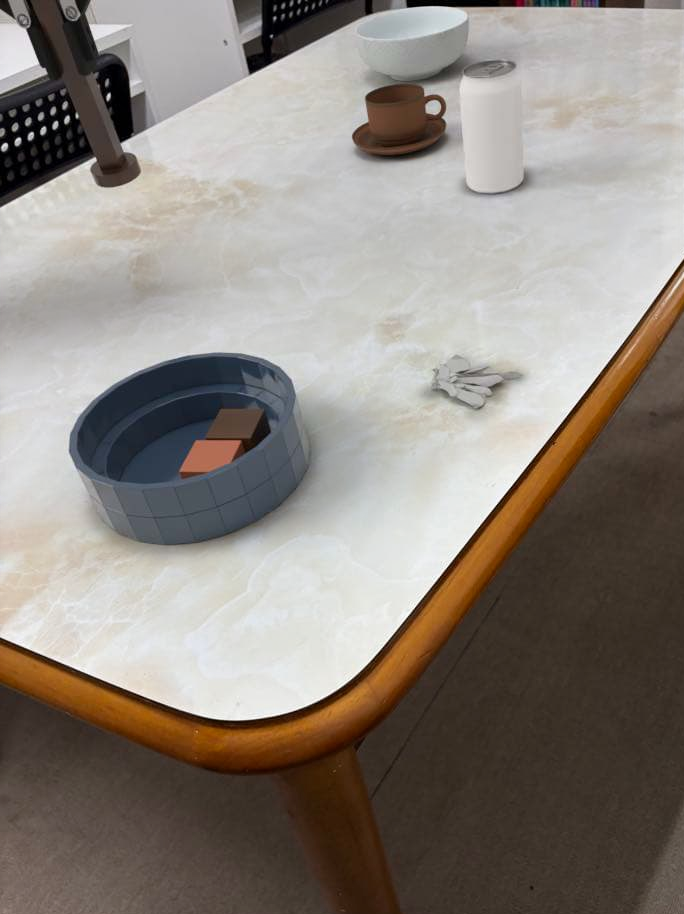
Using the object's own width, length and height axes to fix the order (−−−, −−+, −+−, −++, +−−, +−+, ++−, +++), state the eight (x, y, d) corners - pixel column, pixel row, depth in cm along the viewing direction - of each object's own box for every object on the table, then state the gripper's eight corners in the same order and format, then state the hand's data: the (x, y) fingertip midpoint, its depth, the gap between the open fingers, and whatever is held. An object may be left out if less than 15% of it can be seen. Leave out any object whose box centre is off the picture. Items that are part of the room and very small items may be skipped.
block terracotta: (193, 509, 61) (178, 471, 58) (209, 477, 63) (195, 439, 61) (239, 510, 60) (226, 471, 58) (254, 478, 63) (241, 440, 60)
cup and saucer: (421, 121, 115) (416, 71, 111) (464, 145, 107) (460, 91, 102) (340, 145, 112) (331, 94, 108) (377, 171, 104) (369, 118, 100)
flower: (509, 362, 72) (513, 333, 70) (534, 416, 66) (539, 385, 64) (421, 366, 71) (422, 337, 69) (438, 421, 65) (440, 390, 63)
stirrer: (90, 190, 79) (11, 8, 68) (101, 167, 82) (27, -12, 70) (135, 184, 79) (64, -1, 67) (145, 161, 81) (78, -20, 70)
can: (455, 191, 97) (445, 75, 88) (485, 169, 100) (478, 56, 92) (505, 198, 93) (500, 79, 85) (534, 175, 97) (531, 59, 89)
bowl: (70, 558, 59) (37, 499, 56) (127, 420, 71) (103, 363, 67) (299, 539, 58) (281, 476, 54) (319, 401, 70) (305, 342, 66)
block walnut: (262, 476, 63) (250, 437, 60) (218, 475, 63) (204, 437, 61) (275, 446, 65) (265, 408, 63) (233, 445, 66) (220, 408, 63)
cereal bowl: (373, 99, 124) (366, 45, 119) (352, 70, 136) (344, 20, 131) (485, 76, 125) (482, 21, 121) (454, 49, 138) (450, -2, 133)
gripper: (93, -233, 62) (173, 48, 75) (-111, -196, 64) (2, 73, 76) (62, -229, 57) (154, 73, 69) (-159, -188, 58) (-30, 100, 71)
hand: (73, 71), depth 73 cm, fingers closed on stirrer, 2 cm apart
